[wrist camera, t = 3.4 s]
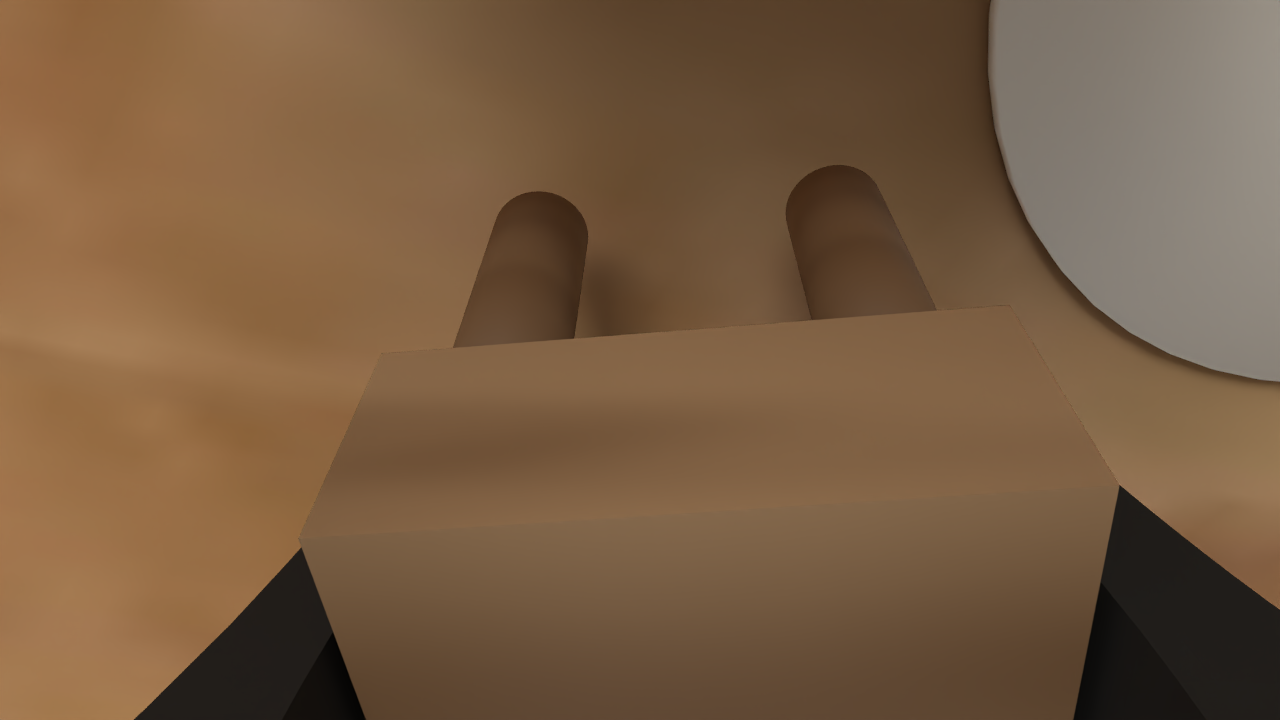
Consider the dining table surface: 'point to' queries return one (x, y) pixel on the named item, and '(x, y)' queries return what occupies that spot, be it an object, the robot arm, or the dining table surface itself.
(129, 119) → the dining table surface
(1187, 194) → the mat
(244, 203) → the dining table surface
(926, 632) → the stool
